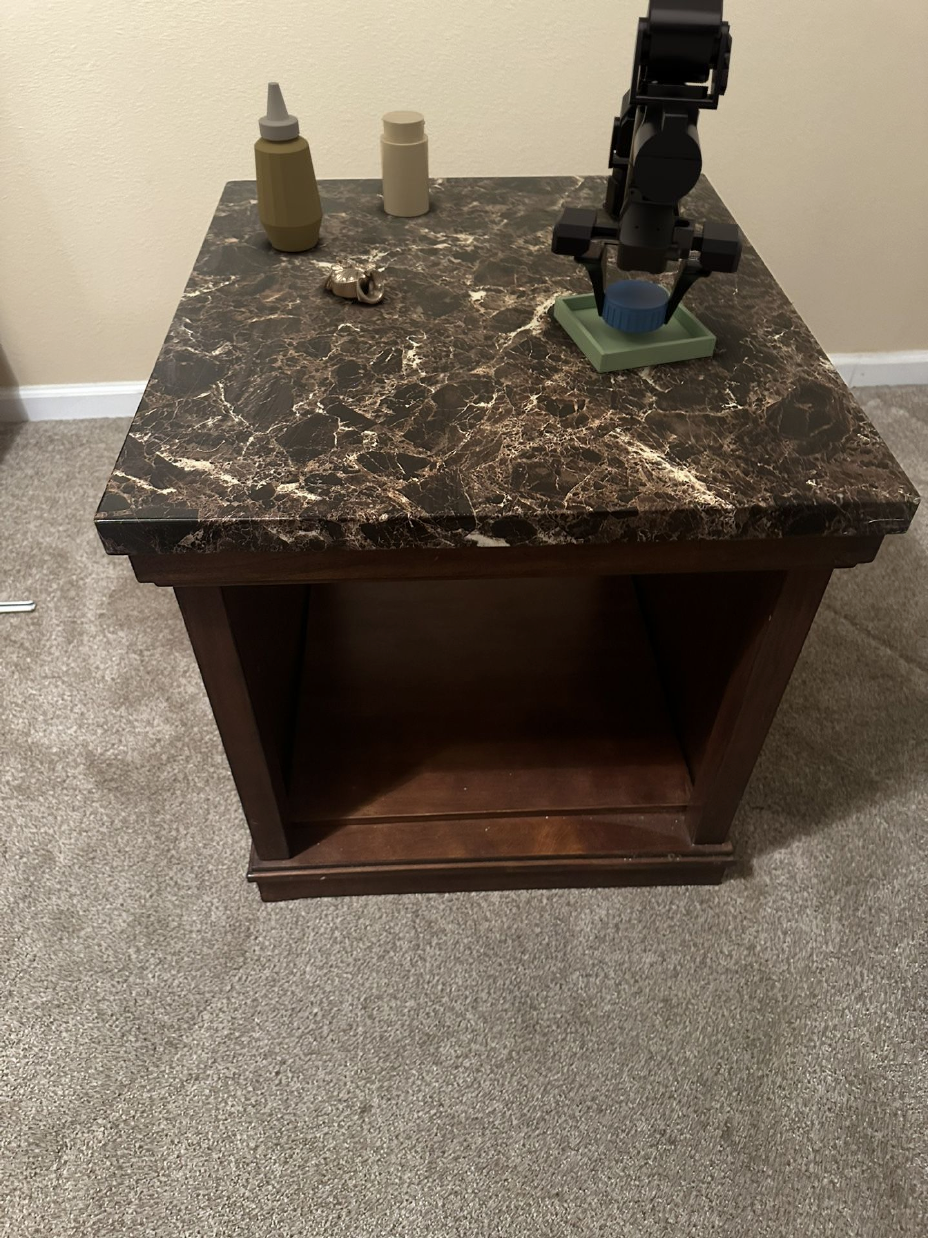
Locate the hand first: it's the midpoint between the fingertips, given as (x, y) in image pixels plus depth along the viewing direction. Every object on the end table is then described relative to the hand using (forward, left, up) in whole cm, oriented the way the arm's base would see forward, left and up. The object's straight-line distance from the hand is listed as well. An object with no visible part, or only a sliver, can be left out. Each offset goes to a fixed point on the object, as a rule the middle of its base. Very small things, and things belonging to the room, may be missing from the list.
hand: (632, 318), depth 90 cm
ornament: (+27, -18, -2) cm, 33 cm away
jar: (+15, -42, -2) cm, 45 cm away
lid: (0, 0, +2) cm, 3 cm away
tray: (0, 0, -2) cm, 2 cm away
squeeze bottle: (+32, -34, -2) cm, 47 cm away
